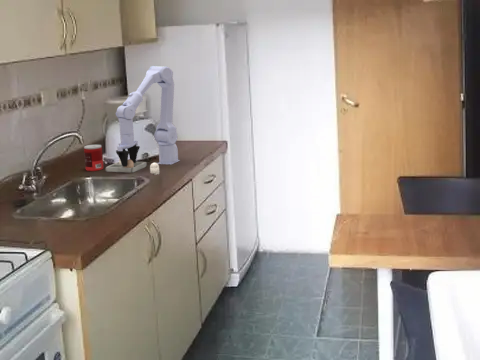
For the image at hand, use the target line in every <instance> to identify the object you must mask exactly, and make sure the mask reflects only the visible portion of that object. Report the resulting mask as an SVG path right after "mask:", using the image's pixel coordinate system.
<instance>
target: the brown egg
mask: <svg viewBox="0 0 480 360" xmlns="http://www.w3.org/2000/svg"><path fill="white" fill-rule="evenodd" d="M133 167H134V163H133V161H132V160H130V158H128V165H127V167H125V168H133Z"/></svg>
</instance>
